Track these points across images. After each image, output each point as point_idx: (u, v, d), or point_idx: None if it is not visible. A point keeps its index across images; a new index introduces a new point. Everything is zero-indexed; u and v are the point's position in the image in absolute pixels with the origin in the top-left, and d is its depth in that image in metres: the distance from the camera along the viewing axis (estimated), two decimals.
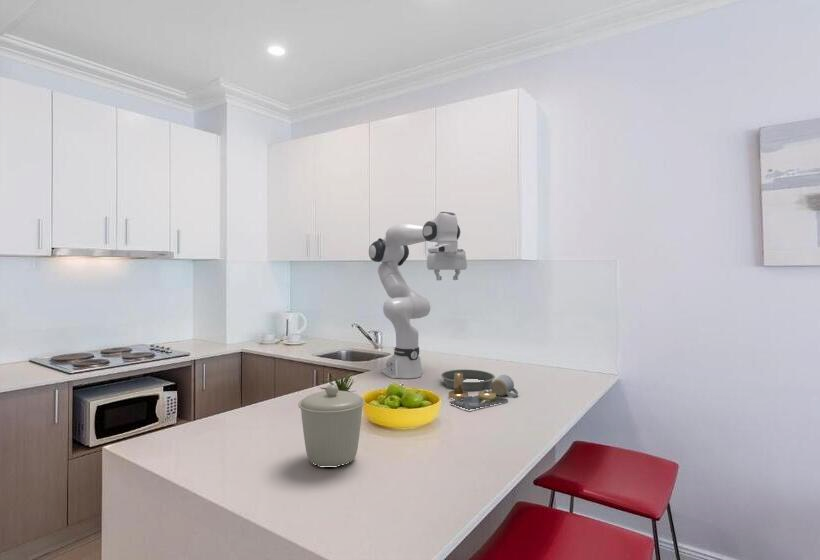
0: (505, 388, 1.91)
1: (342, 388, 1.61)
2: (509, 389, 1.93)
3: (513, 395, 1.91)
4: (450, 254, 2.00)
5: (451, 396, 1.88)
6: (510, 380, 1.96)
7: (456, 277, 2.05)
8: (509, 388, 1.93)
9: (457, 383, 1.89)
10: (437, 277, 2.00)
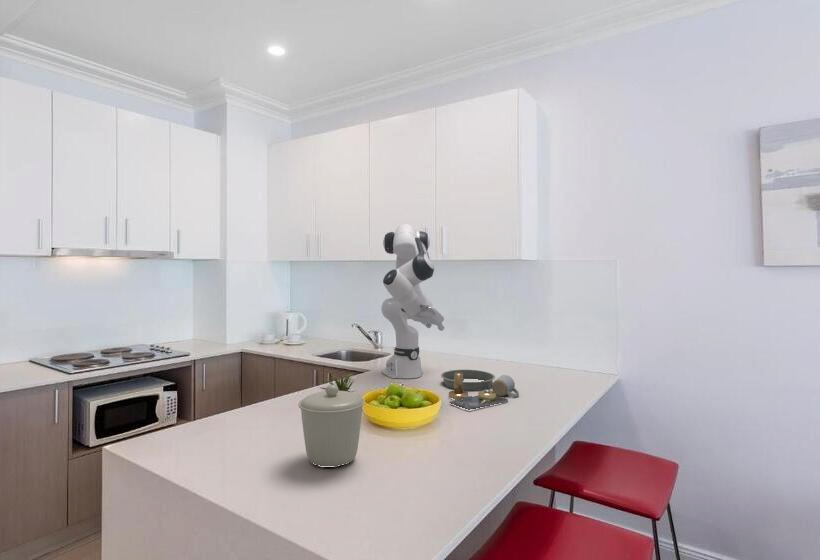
0: (506, 388, 1.90)
1: (342, 388, 1.61)
2: (510, 389, 1.93)
3: (514, 395, 1.90)
4: (413, 314, 1.81)
5: (451, 396, 1.88)
6: (511, 380, 1.95)
7: (439, 328, 1.81)
8: (510, 388, 1.93)
9: (457, 383, 1.89)
10: None
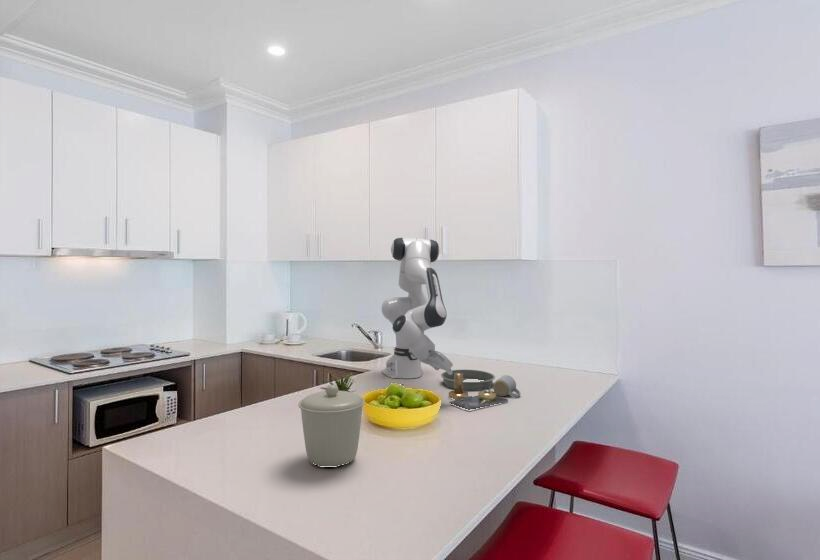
0: (507, 388, 1.90)
1: (342, 388, 1.61)
2: (511, 389, 1.92)
3: (515, 395, 1.90)
4: None
5: (451, 396, 1.88)
6: (512, 380, 1.95)
7: None
8: (511, 388, 1.92)
9: (457, 383, 1.89)
10: None
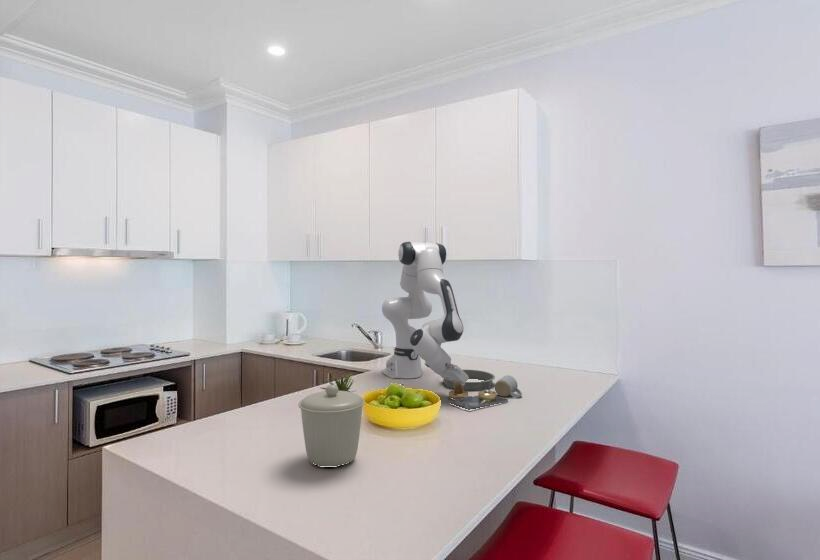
0: (509, 389, 1.90)
1: (342, 388, 1.61)
2: (513, 390, 1.92)
3: (517, 396, 1.90)
4: None
5: (451, 396, 1.88)
6: (514, 380, 1.95)
7: (460, 384, 1.88)
8: (513, 389, 1.92)
9: (457, 383, 1.89)
10: None
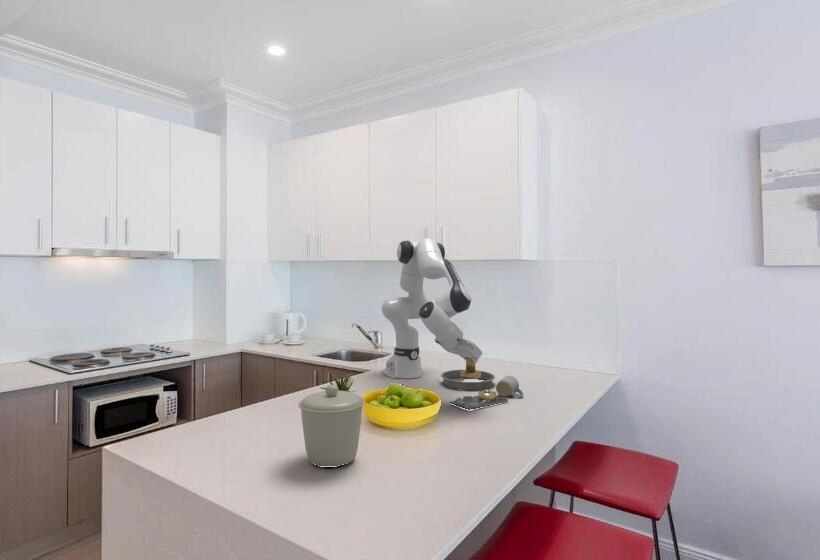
0: (510, 389, 1.89)
1: (342, 388, 1.61)
2: (514, 390, 1.92)
3: (518, 396, 1.89)
4: None
5: (463, 375, 1.77)
6: (515, 380, 1.94)
7: (472, 361, 1.77)
8: (514, 389, 1.91)
9: (469, 361, 1.77)
10: None
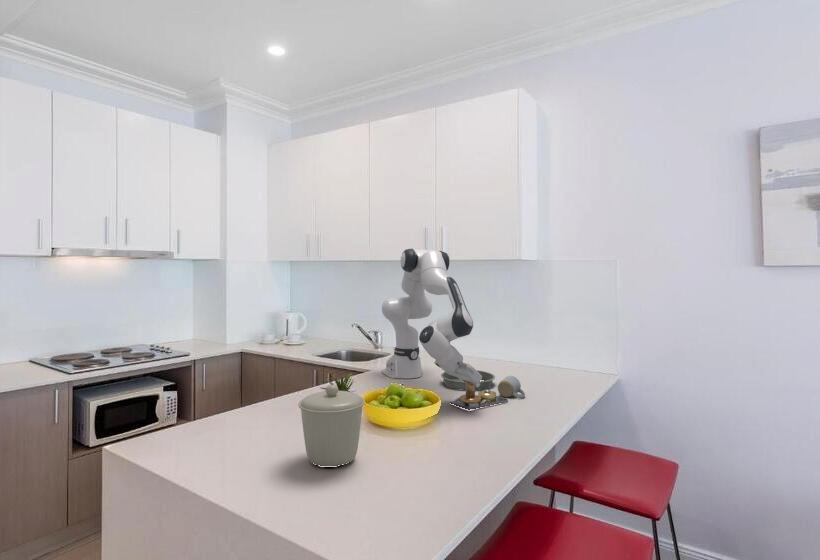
0: (512, 389, 1.89)
1: (342, 388, 1.61)
2: (516, 390, 1.91)
3: (520, 396, 1.89)
4: None
5: (463, 401, 1.77)
6: (517, 381, 1.94)
7: (474, 385, 1.76)
8: (516, 389, 1.91)
9: (469, 387, 1.78)
10: None
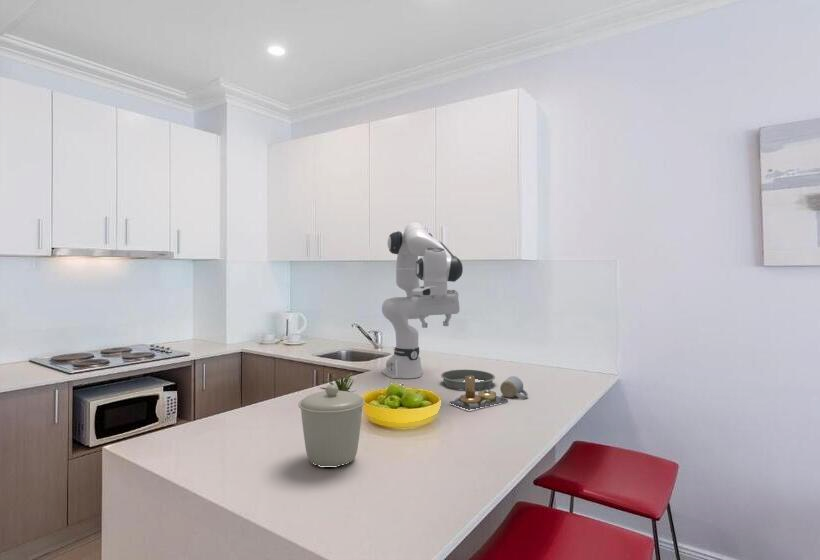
0: (515, 390, 1.88)
1: (342, 388, 1.61)
2: (519, 391, 1.91)
3: (523, 397, 1.88)
4: (437, 297, 1.72)
5: (463, 401, 1.77)
6: (520, 381, 1.93)
7: (446, 323, 1.77)
8: (519, 390, 1.90)
9: (469, 386, 1.78)
10: (422, 324, 1.73)
